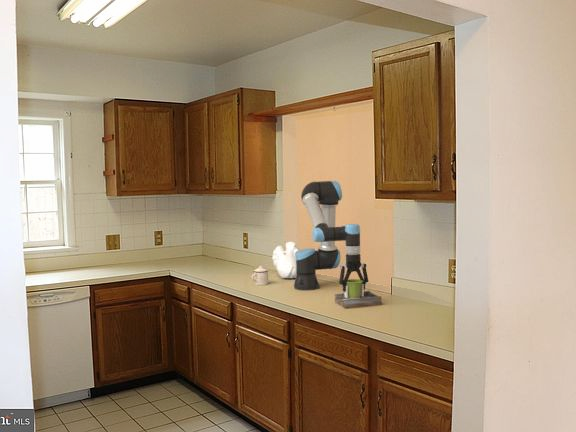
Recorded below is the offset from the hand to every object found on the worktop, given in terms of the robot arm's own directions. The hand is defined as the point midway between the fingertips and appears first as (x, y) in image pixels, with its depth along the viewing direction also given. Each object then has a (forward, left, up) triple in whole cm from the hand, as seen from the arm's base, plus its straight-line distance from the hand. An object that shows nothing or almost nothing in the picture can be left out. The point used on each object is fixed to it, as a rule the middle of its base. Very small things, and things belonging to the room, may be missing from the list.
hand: (354, 296), depth 282 cm
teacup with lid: (-72, -34, -4) cm, 80 cm away
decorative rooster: (-87, -11, -4) cm, 88 cm away
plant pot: (0, 0, 0) cm, 1 cm away
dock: (0, +2, -4) cm, 4 cm away
